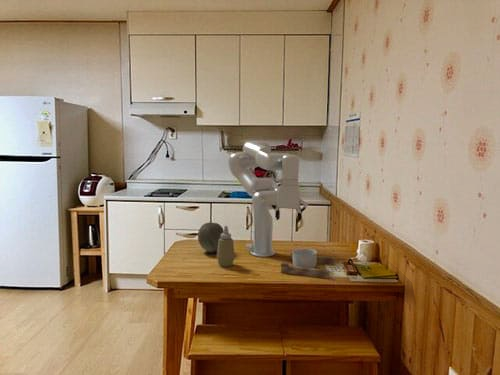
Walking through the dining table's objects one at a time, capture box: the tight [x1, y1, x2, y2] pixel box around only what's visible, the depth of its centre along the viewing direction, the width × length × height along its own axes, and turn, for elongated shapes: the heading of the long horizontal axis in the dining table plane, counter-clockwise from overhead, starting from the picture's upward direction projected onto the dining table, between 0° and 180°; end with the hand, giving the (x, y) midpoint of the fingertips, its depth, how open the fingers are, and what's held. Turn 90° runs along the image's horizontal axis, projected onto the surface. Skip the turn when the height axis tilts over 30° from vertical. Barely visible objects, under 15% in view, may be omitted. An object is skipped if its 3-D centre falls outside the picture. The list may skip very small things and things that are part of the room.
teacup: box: [291, 247, 318, 268], centre depth 173 cm, size 14×11×8 cm
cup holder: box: [280, 250, 335, 279], centre depth 173 cm, size 20×21×4 cm
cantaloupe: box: [197, 221, 224, 254], centre depth 195 cm, size 14×14×15 cm
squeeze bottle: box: [216, 225, 235, 268], centre depth 174 cm, size 8×8×18 cm
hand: (288, 220), depth 175 cm, fingers open, 9 cm apart
